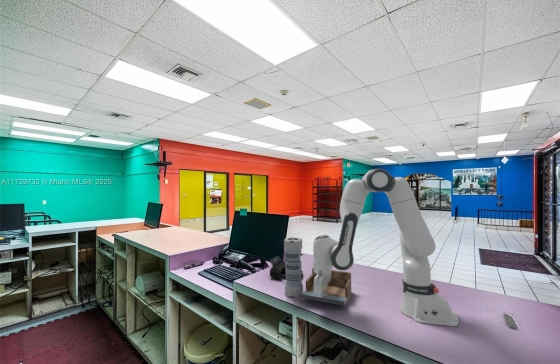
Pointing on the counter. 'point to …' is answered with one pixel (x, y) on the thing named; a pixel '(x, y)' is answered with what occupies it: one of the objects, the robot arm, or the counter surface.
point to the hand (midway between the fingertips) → (323, 296)
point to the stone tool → (510, 321)
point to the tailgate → (324, 298)
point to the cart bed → (334, 284)
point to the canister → (293, 266)
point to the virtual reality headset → (279, 269)
